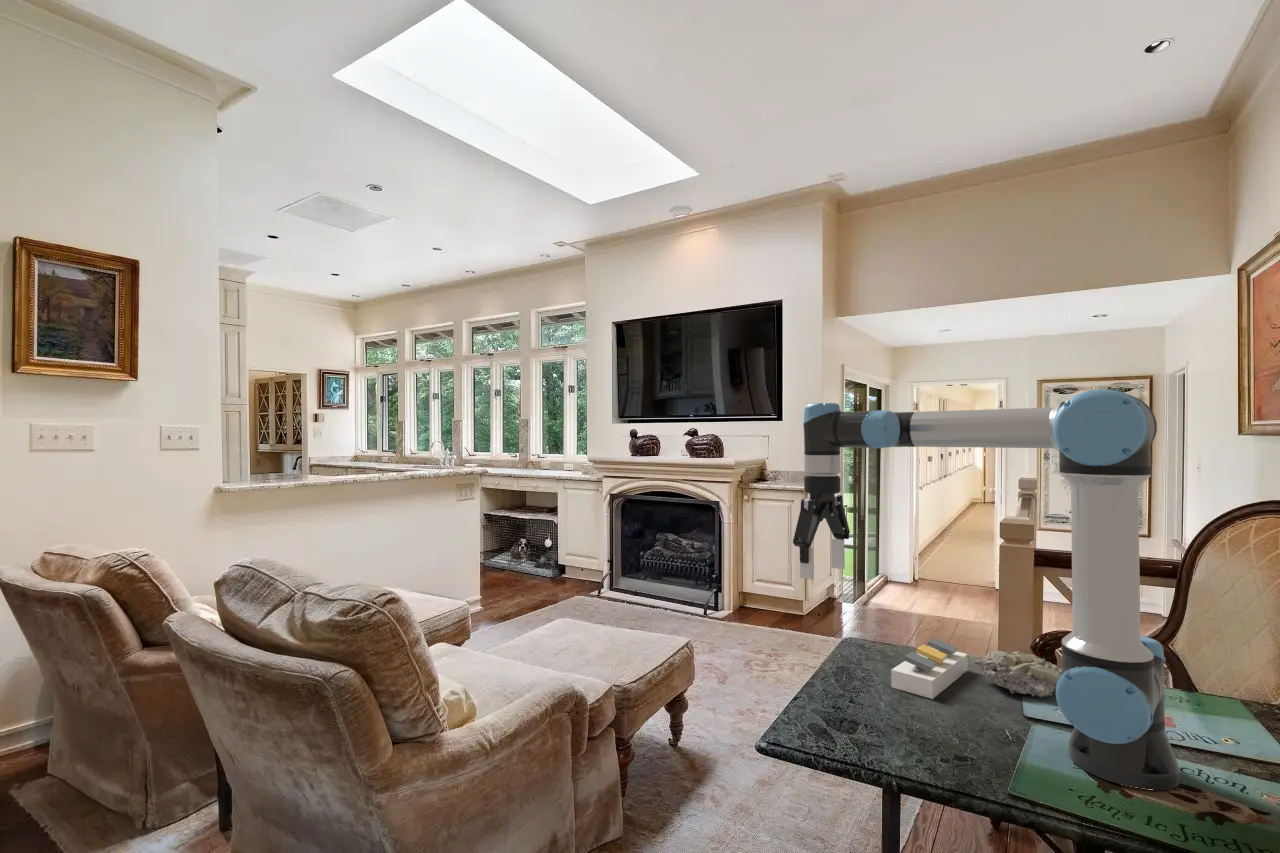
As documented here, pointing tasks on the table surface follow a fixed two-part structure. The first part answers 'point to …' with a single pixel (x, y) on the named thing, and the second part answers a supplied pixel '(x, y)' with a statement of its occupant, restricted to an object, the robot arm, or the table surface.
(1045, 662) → the geode
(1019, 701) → the table surface
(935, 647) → the block
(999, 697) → the table surface
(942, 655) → the amber rocker
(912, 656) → the block
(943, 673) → the white rocker switch box
